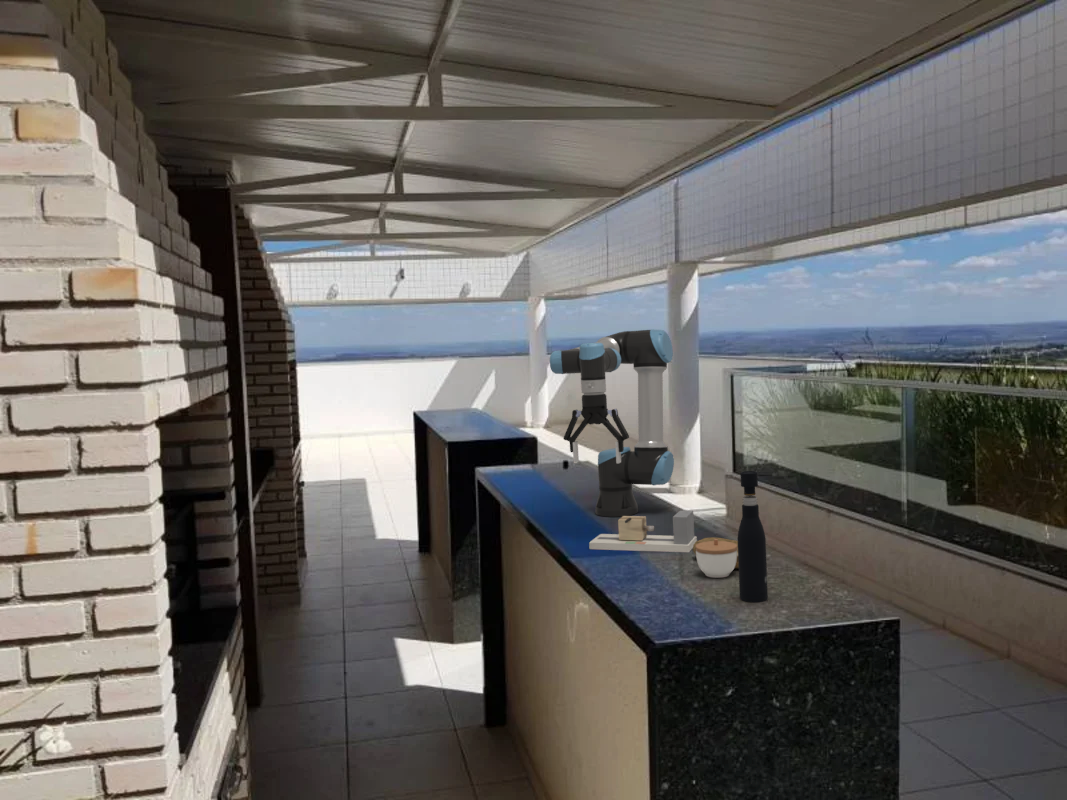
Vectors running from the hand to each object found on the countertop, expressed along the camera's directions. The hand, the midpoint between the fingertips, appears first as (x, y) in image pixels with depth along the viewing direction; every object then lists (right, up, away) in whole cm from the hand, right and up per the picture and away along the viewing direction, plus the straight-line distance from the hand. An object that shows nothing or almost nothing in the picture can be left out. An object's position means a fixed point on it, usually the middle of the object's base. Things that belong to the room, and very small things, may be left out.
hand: (597, 462), depth 284 cm
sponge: (+33, -26, -31) cm, 52 cm away
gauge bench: (+13, -25, -6) cm, 29 cm away
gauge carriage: (+11, -22, -8) cm, 26 cm away
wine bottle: (+32, -28, -66) cm, 78 cm away
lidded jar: (+28, -26, -43) cm, 58 cm away
